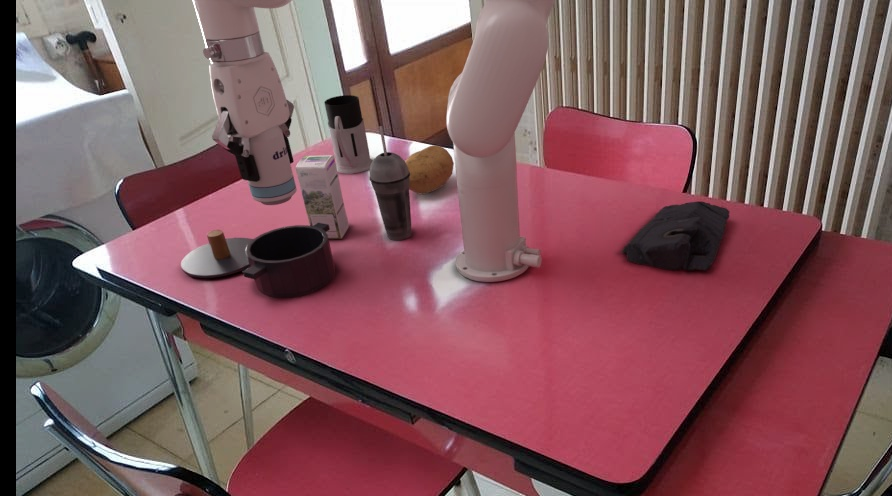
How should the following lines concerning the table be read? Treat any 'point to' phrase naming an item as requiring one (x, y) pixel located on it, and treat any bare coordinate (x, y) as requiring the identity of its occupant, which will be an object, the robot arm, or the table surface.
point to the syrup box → (322, 193)
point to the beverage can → (271, 168)
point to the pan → (291, 260)
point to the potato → (429, 169)
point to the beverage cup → (392, 192)
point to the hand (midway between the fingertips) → (268, 170)
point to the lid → (217, 257)
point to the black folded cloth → (680, 237)
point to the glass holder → (348, 134)
